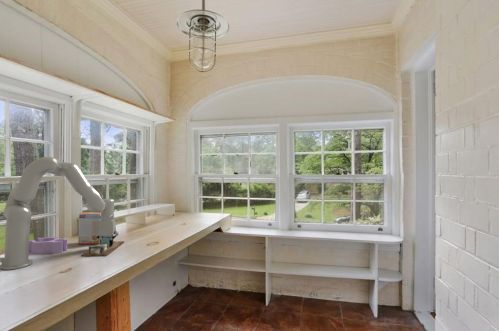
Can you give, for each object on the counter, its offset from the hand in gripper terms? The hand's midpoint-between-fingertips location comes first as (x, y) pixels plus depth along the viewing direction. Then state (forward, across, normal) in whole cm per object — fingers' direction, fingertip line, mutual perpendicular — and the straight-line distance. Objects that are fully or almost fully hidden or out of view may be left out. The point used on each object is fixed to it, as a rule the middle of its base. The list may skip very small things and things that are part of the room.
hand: (106, 245), depth 170 cm
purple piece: (+2, -32, -5) cm, 32 cm away
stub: (0, 0, 0) cm, 0 cm away
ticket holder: (+1, 0, -2) cm, 3 cm away
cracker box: (+2, -14, +11) cm, 18 cm away
